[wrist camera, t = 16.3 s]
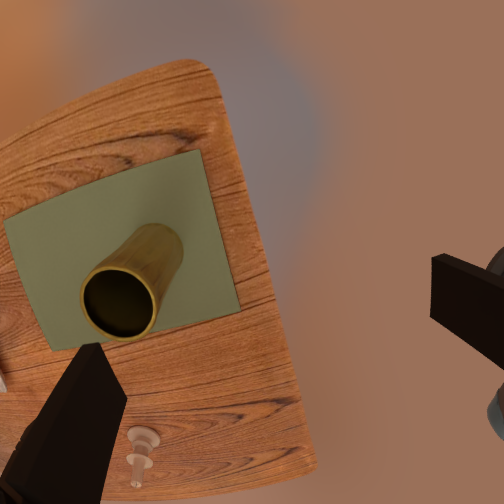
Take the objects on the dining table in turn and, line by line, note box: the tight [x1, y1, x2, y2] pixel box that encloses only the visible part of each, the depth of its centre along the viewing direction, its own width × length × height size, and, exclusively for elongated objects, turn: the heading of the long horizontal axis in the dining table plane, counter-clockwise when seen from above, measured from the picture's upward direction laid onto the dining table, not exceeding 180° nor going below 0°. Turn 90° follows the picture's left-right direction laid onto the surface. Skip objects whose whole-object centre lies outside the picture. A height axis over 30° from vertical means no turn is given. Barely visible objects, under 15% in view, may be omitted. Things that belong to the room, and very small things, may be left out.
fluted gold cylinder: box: [79, 223, 184, 342], centre depth 24 cm, size 6×6×14 cm
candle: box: [127, 426, 160, 488], centre depth 32 cm, size 5×5×10 cm
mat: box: [3, 149, 241, 351], centre depth 30 cm, size 26×18×1 cm
